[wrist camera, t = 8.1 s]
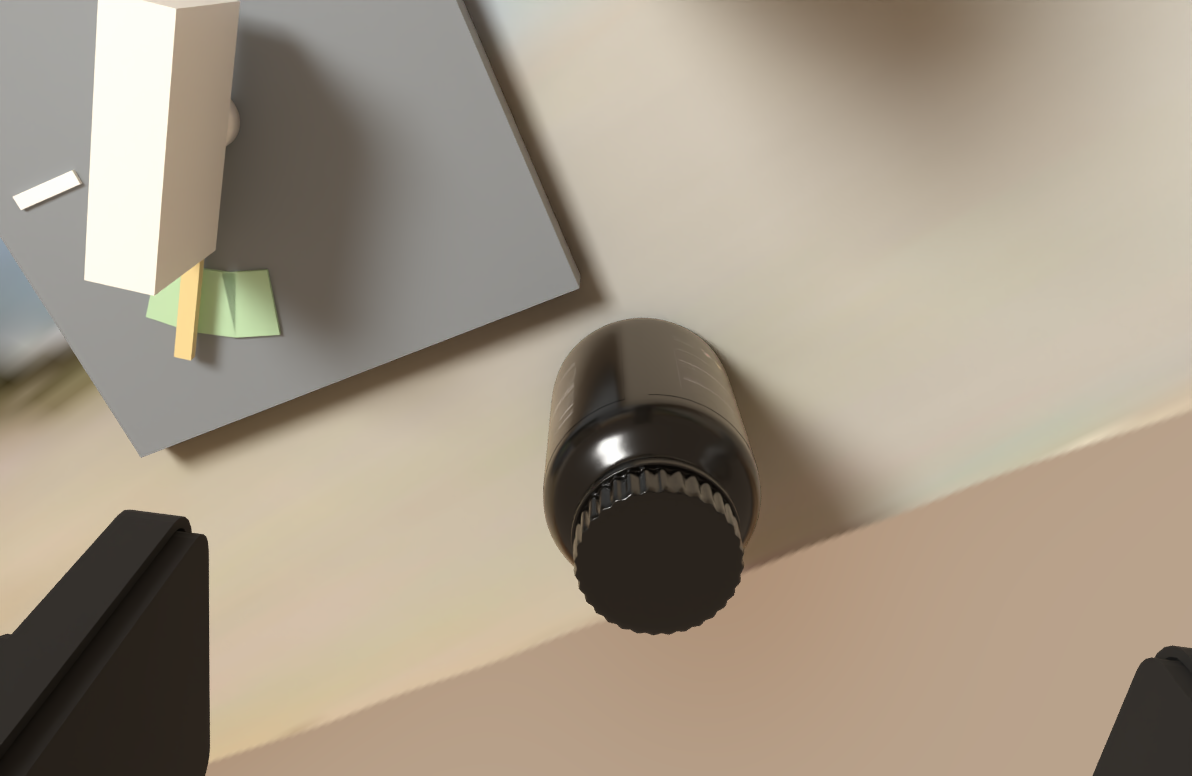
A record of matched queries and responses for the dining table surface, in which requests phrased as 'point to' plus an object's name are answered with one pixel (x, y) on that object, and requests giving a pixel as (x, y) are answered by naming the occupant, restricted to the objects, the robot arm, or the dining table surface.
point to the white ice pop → (160, 146)
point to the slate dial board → (287, 207)
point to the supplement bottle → (649, 476)
